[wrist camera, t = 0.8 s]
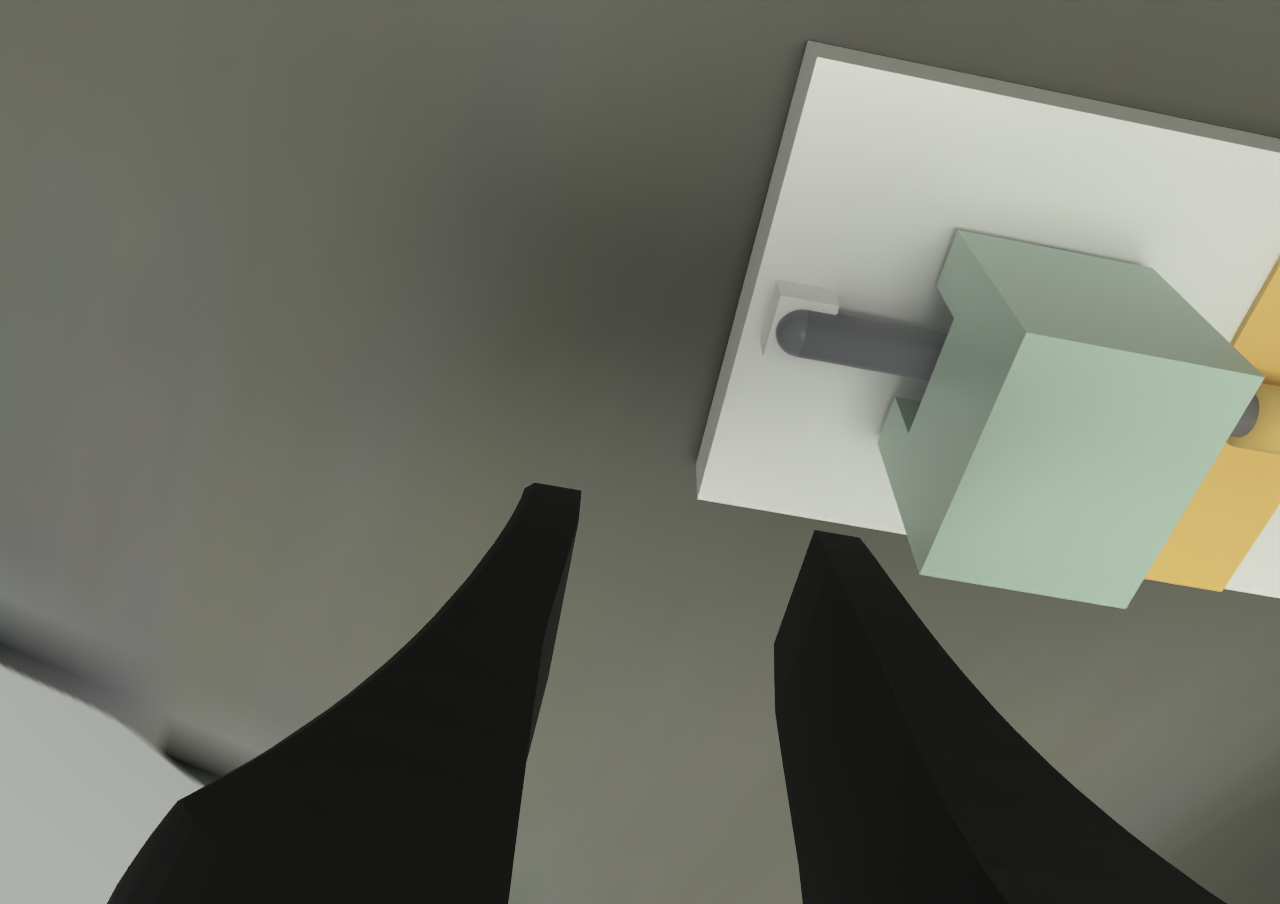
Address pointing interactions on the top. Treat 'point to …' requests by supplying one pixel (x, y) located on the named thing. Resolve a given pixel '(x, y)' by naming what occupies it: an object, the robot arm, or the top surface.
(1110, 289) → the pale green notched block
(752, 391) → the board
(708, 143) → the top surface
